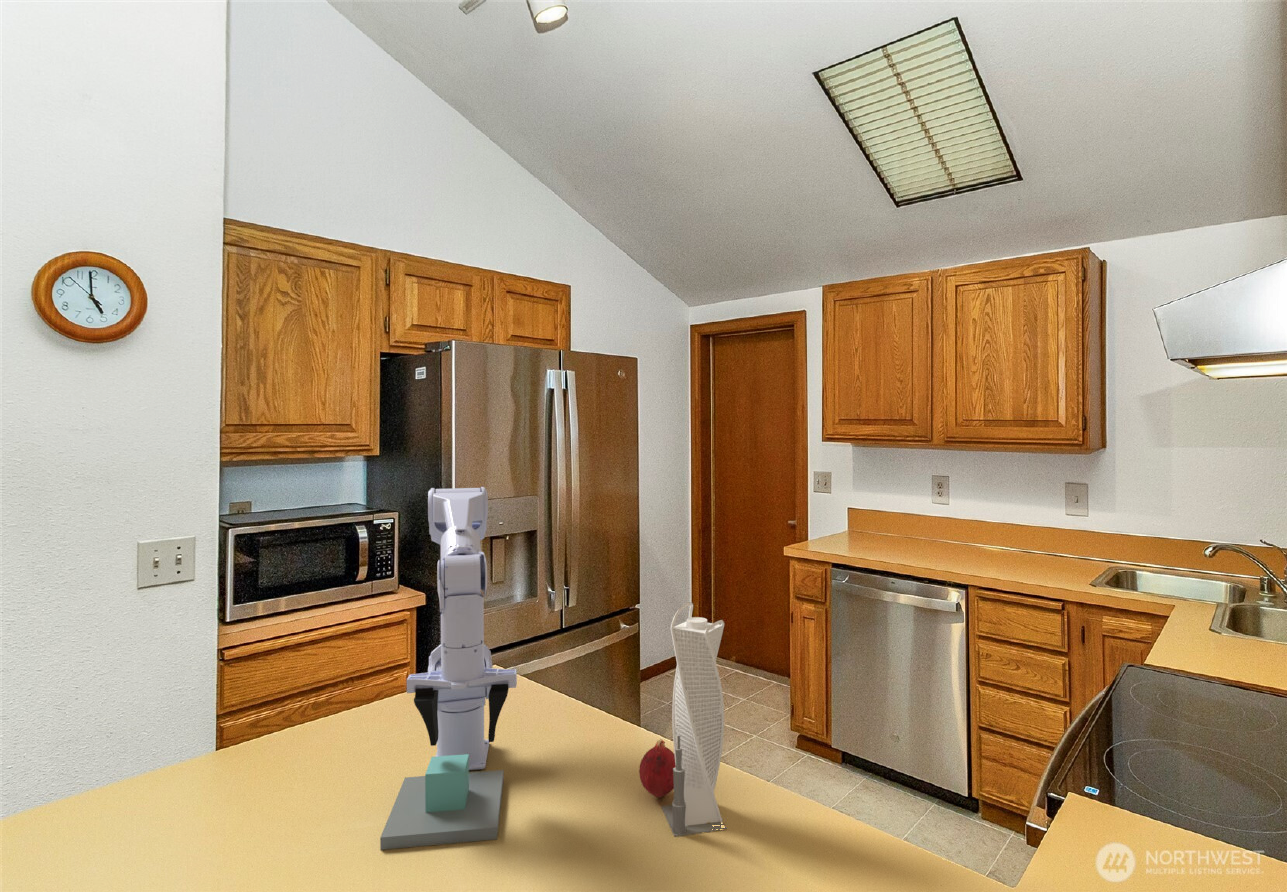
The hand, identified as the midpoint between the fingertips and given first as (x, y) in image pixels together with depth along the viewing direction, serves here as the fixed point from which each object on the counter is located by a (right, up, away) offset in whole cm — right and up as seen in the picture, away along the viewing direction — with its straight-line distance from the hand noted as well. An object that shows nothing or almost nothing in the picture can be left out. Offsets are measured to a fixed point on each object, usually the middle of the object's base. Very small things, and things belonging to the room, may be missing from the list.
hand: (463, 740), depth 92 cm
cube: (-2, -8, -2) cm, 8 cm away
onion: (+27, -9, +2) cm, 29 cm away
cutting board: (-2, -9, -2) cm, 9 cm away
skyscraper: (+32, -9, -3) cm, 33 cm away
